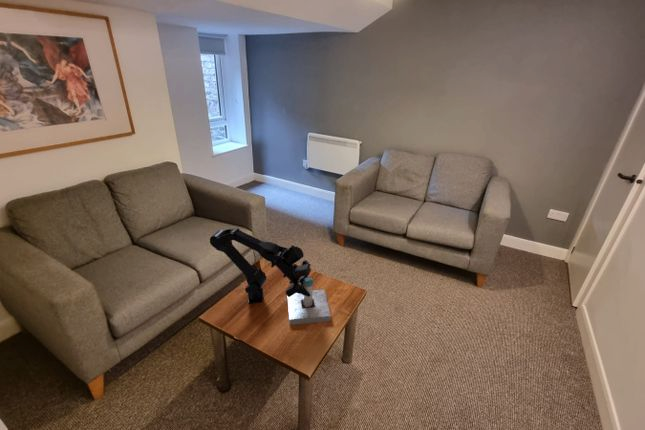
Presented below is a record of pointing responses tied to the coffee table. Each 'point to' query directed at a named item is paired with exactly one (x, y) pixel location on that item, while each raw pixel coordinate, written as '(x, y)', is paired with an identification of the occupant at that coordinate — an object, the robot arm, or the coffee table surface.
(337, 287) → the coffee table surface
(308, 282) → the plug
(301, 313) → the housing
